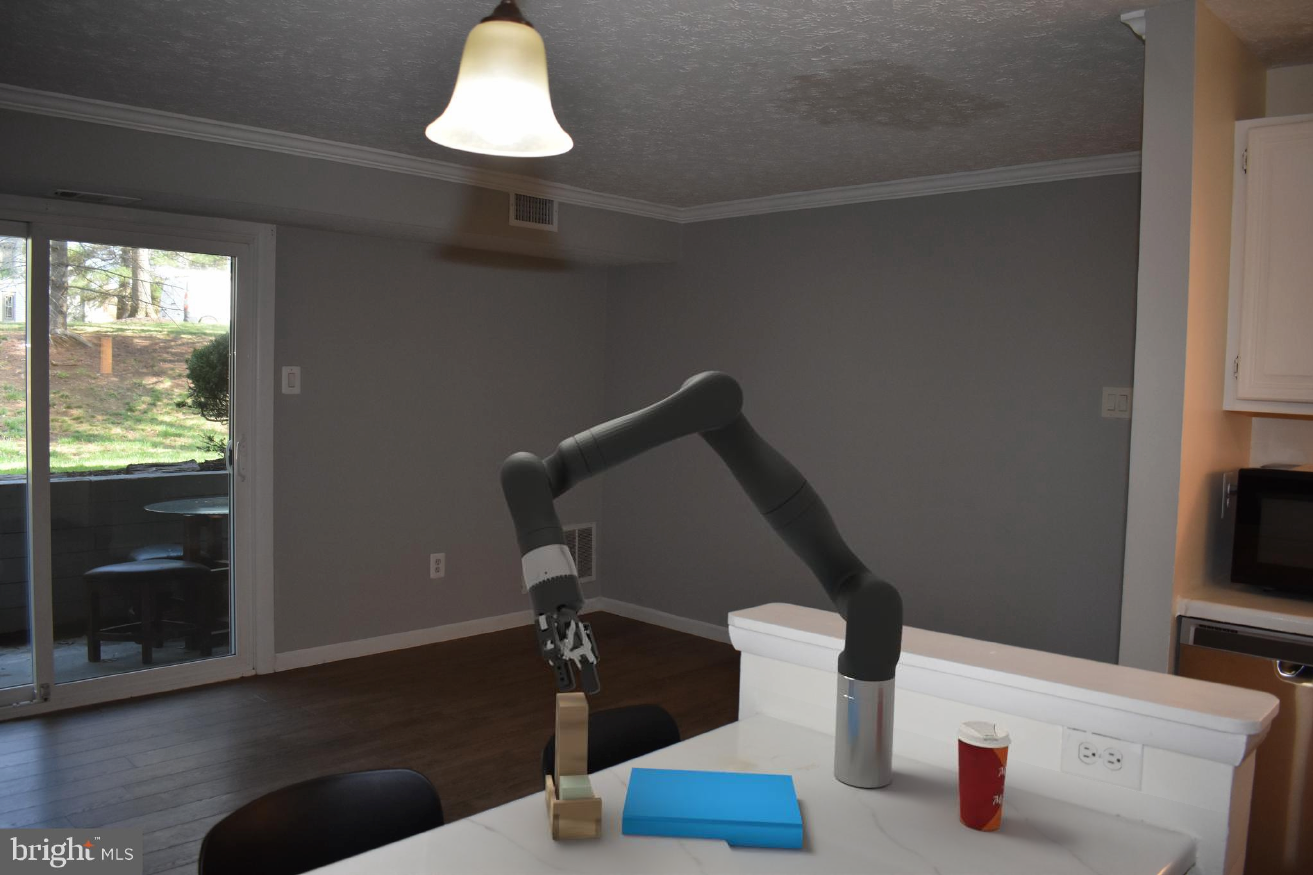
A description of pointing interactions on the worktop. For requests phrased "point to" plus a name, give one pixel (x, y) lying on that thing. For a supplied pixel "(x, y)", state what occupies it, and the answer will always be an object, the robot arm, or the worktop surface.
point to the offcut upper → (574, 787)
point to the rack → (573, 815)
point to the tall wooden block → (570, 736)
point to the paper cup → (981, 773)
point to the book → (714, 807)
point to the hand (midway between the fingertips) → (581, 691)
